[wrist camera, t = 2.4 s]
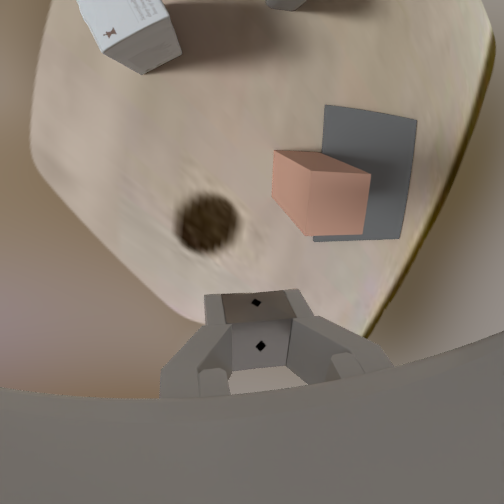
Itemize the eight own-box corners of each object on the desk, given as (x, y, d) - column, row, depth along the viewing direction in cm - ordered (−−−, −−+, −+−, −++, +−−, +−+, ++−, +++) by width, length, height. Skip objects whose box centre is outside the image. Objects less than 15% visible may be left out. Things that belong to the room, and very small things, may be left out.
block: (273, 150, 29) (311, 171, 20) (319, 152, 30) (371, 174, 21) (271, 196, 31) (305, 236, 22) (315, 196, 31) (362, 234, 23)
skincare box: (184, 54, 24) (179, 16, 13) (138, 78, 24) (102, 57, 13) (156, 2, 21) (137, -57, 10) (112, 26, 21) (65, -18, 10)
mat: (324, 104, 28) (326, 104, 27) (414, 119, 29) (416, 120, 29) (313, 240, 33) (314, 241, 33) (397, 237, 35) (399, 238, 35)
